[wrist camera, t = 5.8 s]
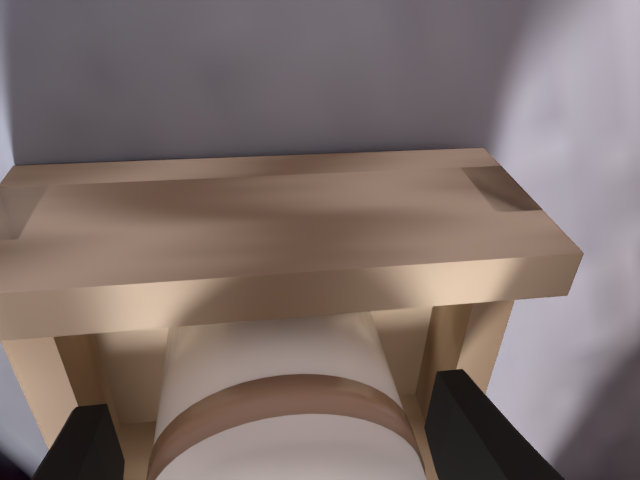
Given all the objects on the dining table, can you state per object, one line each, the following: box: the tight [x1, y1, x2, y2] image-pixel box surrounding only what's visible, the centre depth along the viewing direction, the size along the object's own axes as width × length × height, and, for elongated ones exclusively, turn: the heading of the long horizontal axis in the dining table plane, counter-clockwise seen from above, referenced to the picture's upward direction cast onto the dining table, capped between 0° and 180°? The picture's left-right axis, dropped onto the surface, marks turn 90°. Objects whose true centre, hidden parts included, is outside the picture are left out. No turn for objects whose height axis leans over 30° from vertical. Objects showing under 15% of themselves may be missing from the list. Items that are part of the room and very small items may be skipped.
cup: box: [146, 311, 427, 480], centre depth 12 cm, size 5×5×6 cm
